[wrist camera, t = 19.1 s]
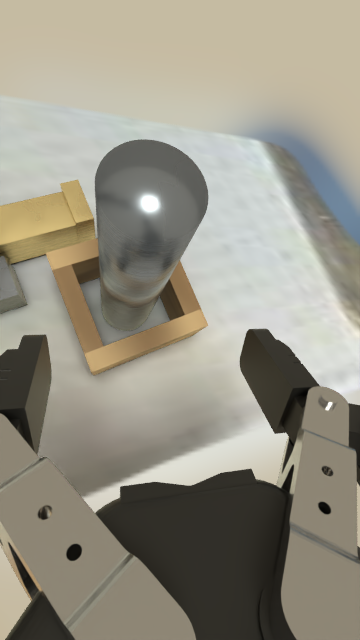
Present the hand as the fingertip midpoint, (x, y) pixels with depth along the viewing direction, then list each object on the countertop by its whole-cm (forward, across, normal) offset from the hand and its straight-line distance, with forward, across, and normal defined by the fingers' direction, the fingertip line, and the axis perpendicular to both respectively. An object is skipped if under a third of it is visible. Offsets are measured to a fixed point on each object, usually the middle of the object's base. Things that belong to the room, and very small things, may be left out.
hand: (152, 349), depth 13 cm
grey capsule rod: (+11, 0, +5) cm, 12 cm away
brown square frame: (+11, 0, +4) cm, 12 cm away
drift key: (+15, +6, +1) cm, 16 cm away
